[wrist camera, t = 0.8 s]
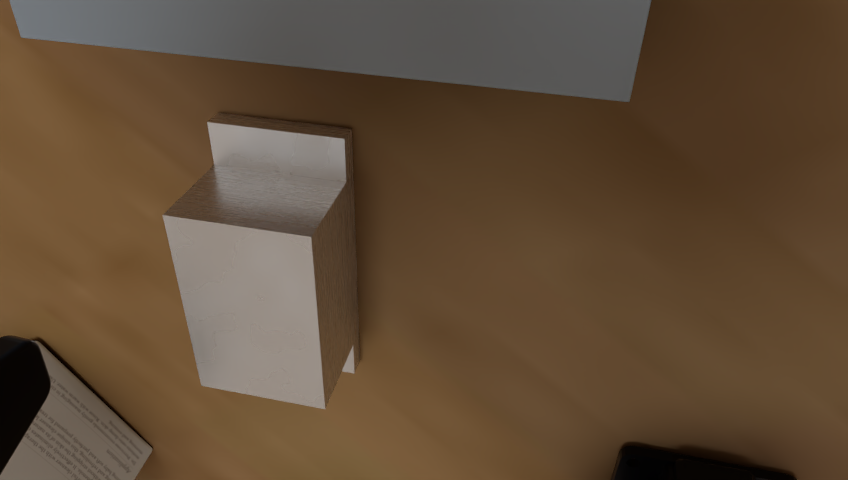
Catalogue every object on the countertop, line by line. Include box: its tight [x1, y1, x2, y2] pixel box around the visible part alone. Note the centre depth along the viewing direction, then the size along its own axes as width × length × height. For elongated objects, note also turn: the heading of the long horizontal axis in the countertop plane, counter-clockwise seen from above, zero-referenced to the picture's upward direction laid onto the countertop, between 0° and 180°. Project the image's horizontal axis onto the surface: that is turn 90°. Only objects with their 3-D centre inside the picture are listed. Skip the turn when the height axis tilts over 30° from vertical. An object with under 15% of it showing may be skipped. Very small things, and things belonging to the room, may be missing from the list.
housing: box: [163, 113, 360, 409], centre depth 22 cm, size 10×4×4 cm, turn 178°
